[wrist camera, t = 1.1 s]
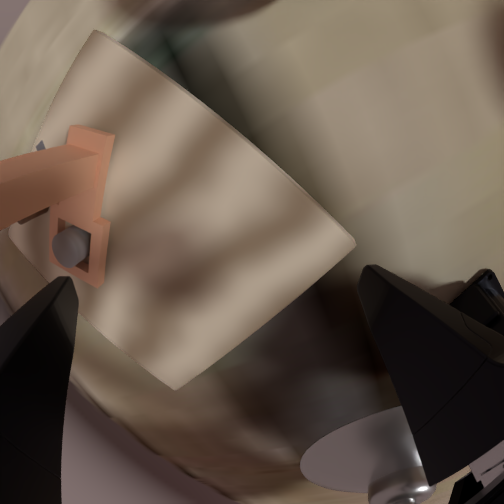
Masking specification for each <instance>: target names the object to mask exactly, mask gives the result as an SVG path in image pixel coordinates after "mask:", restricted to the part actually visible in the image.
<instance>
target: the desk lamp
mask: <svg viewBox="0 0 504 504" xmlns="http://www.w3.org/2000/svg"><path fill="white" fill-rule="evenodd" d="M300 469H301V472H302V473H303V475H304V476H305V477H306V478H307V479H308V480H309V481H311V482H312V483H314V484H316V485H318V486H321V487H324V488H327V489H331V490H336V491H343V492H356V493H368V501H369V504H420V503H422V502H424V501H425V500H427V499H428V498H430V497H431V495H432V494H433V493H434V491H435V490H436V485H437V484H435V485H433V486H431V487H429V485H428V482H427V479H426V476H425V473H424V470H423V466H422V463H421V460H420V457H419V454H418V451H417V448H416V445H415V442H414V439H413V435H412V433H411V430H410V427H409V425H408V422H407V419H406V416H405V414H404V411H403V408H402V406H399V407H395V408H392V409H388V410H385V411H382V412H379V413H376V414H373V415H370V416H367V417H365V418H362V419H359V420H357V421H354V422H352V423H350V424H347V425H345V426H343V427H341V428H339V429H337V430H335V431H333V432H331V433H329V434H328V435H326V436H324V437H323V438H321V439H320V440H318V441H317V442H316V443H314V444H313V445H312V446H311V447H310V448H309V449H308V450H307V451H306V452H305V454H304V455H303V456H302V459H301V461H300Z"/></svg>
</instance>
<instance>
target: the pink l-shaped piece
mask: <svg viewBox="0 0 504 504" xmlns="http://www.w3.org/2000/svg"><path fill="white" fill-rule="evenodd" d="M114 139H115V135H114V134H111V133H108V132H104V131H101V130H97V129H94V128H90V127H86V126H83V125H79V124H78V125H70V127H69V132H68V137H67V143H66V145H62V146H57V147H52V148H48V149H44V150H39V151H35V152H31V153H27V154H23V155H20V156H16V157H12V158H9V159H5V160H2V161H0V231H1V230H2V229H4V228H6V227H8V226H10V225H12V224H14V223H16V222H18V221H20V220H22V219H24V218H26V217H28V216H30V215H32V214H34V213H36V212H38V211H40V210H43V209H45V208H47V207H49V206H50V225H49V261H50V262H52V263H53V264H55V265H57V266H58V267H60V268H62V269H63V270H65V271H67V272H69V273H70V274H72V275H74V276H76V277H77V278H79V279H81V280H83V281H85V282H86V283H88V284H90V285H92V286H94V287H96V288H97V289H98V288H99V287H100V286H101V285H102V284H103V283H104V277H105V266H106V256H107V247H108V239H109V231H110V224H111V222H110V221H108V220H106V219H104V218H101V217H100V216H101V209H102V202H103V196H104V189H105V184H106V178H107V172H108V167H109V162H110V157H111V153H112V148H113V143H114ZM65 221H67V222H69V223H71V224H73V225H75V226H77V227H79V228H81V229H83V230H85V231H87V232H89V233H91V242H90V255H89V264H87V263H85V262H83V261H81V262H79V263H78V264H76V265H75V266H74V267H72V268H66V267H64V266H63V265H61V264H60V263H59V262H58V260H57V259H56V257H55V256H54V253H53V250H52V240H53V238H54V236H55V235H57V234H58V233H60V232H62V231H63V230H65Z"/></svg>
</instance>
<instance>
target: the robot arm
mask: <svg viewBox="0 0 504 504" xmlns="http://www.w3.org/2000/svg"><path fill="white" fill-rule="evenodd" d="M489 275H490V276H489ZM488 276H489V277H488ZM357 292H358V295H359V298H360V301H361V304H362V307H363V310H364V313H365V316H366V319H367V322H368V325H369V328H370V330H371V333H372V335H373V337H374V340H375V342H376V344H377V347H378V349H379V351H380V354H381V356H382V358H383V361H384V363H385V366H386V368H387V370H388V373H389V375H390V378H391V380H392V383H393V385H394V388H395V390H396V393H397V395H398V398H399V401H400V403H401V406H402V408H403V411H404V414H405V416H406V419H407V422H408V425H409V427H410V430H411V433H412V435H413V439H414V442H415V445H416V448H417V451H418V454H419V457H420V460H421V463H422V466H423V470H424V473H425V476H426V479H427V482H428V485H429V487H431V486H433V485H435V484H437V483H439V482H440V481H442V480H444V479H446V478H448V477H449V476H451V475H453V474H454V473H456V472H458V471H459V470H461V469H463V468H464V467H466V466H467V465H469V467H470V469H471V472H469V473H468V474H467V475H465V476H464V477H462V478H461V479H460V480H458V481H457V482H455V484H454V487H453V491H452V494H451V497H450V500H449V503H448V504H504V292H503V289H502V287H501V285H500V283H499V281H498V279H497V277H496V275H495V273H494V272H493V271H492V270H491V269H488V270H487V271H485V272H484V273H483V274H482V275H481V276H480V277H479V278H478V279H477V280H476V281H475V282H474V283H473V284H472V285H471V286H470V287H469V288H468V289H466V290H465V291H464V292H463V293H462V294H461V295H460V296H459V297H458V298H456V299H455V300H454V301H453V302H452V303H451V304H450V305H448V304H446V303H445V302H443V301H441V300H439V299H438V298H436V297H434V296H432V295H431V294H429V293H427V292H425V291H424V290H422V289H420V288H418V287H417V286H415V285H413V284H411V283H409V282H408V281H406V280H404V279H402V278H400V277H399V276H397V275H395V274H393V273H391V272H389V271H388V270H386V269H384V268H382V267H380V266H378V265H366V266H365V267H364V268H363V270H362V273H361V276H360V279H359V282H358V284H357ZM78 308H79V299H78V296H77V292H76V289H75V286H74V283H73V280H72V278H71V277H70V276H58V277H57V278H55V279H54V280H53V281H52V282H50V283H49V284H48V285H47V286H45V287H44V288H43V289H42V290H41V291H39V292H38V293H37V294H36V295H35V296H34V297H32V298H31V299H30V300H29V301H28V302H27V303H25V304H24V305H23V306H22V307H21V308H20V309H18V310H17V311H16V312H15V313H14V314H13V315H12V316H11V317H10V318H8V319H7V320H6V321H5V322H4V323H3V324H2V325H1V326H0V504H62V502H61V479H60V478H61V456H62V437H63V425H64V414H65V405H66V397H67V389H68V383H69V376H70V370H71V364H72V359H73V353H74V345H75V335H76V325H77V316H78Z"/></svg>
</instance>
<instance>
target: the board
mask: <svg viewBox="0 0 504 504" xmlns="http://www.w3.org/2000/svg"><path fill="white" fill-rule="evenodd" d="M78 124H79V125H83V126H86V127H90V128H94V129H97V130H101V131H104V132H108V133H111V134H114V135H115V139H114V143H113V148H112V153H111V157H110V162H109V167H108V172H107V178H106V184H105V189H104V196H103V202H102V209H101V216H100V217H101V218H104V219H106V220H108V221H110V222H111V224H110V231H109V239H108V247H107V256H106V266H105V277H104V283H103V284H102V285H101V286H100V287H99V288H98V289H97V288H96V287H94V286H92V285H90V284H88V283H86V282H85V281H83V280H81V279H79V278H77V277H76V276H74V275H72V274H70V273H69V272H67V271H65V270H63V269H62V268H60V267H58V266H57V265H55V264H53V263H52V262H50V261H49V225H50V206H49V207H47V208H45V209H43V210H40V211H38V212H36V213H34V214H32V215H30V216H28V217H26V218H24V219H22V220H20V221H18V222H16V223H14V224H12V225H10V228H9V233H8V236H9V238H10V239H11V240H12V241H13V243H14V244H15V245H16V246H17V248H18V249H19V250H20V251H21V252H22V253H23V255H24V256H25V257H26V258H27V259H28V260H29V262H30V263H31V264H32V265H33V266H34V267H35V268H36V270H37V271H38V272H39V273H40V274H41V275H42V276H43V277H44V278H45V279H46V280H47V282H48V283H50V282H52V281H53V280H54V279H55V278H57V277H58V276H70V277H71V278H72V280H73V283H74V286H75V289H76V292H77V296H78V299H79V308H78V313H79V314H81V315H82V316H83V317H84V318H85V319H86V320H87V321H88V322H89V323H90V324H91V325H92V326H94V327H95V328H96V329H97V330H98V331H99V332H100V333H101V334H103V335H104V336H105V337H106V338H107V339H108V340H110V341H111V342H112V343H113V344H114V345H115V346H117V347H118V348H119V349H120V350H122V351H123V352H124V353H125V354H126V355H128V356H129V357H130V358H131V359H133V360H134V361H135V362H137V363H138V364H139V365H140V366H142V367H143V368H144V369H146V370H147V371H148V372H150V373H151V374H152V375H154V376H155V377H156V378H158V379H159V380H160V381H162V382H163V383H165V384H166V385H167V386H169V387H170V388H172V389H173V390H175V391H176V390H178V389H179V388H181V387H182V386H183V385H185V384H186V383H188V382H189V381H190V380H192V379H193V378H194V377H196V376H197V375H199V374H200V373H201V372H203V371H204V370H205V369H207V368H208V367H209V366H211V365H212V364H214V363H215V362H216V361H218V360H219V359H220V358H222V357H223V356H224V355H225V354H227V353H228V352H229V351H231V350H232V349H233V348H235V347H236V346H237V345H239V344H240V343H241V342H242V341H244V340H245V339H246V338H248V337H249V336H250V335H251V334H253V333H254V332H255V331H256V330H258V329H259V328H260V327H262V326H263V325H264V324H265V323H267V322H268V321H269V320H270V319H271V318H273V317H274V316H275V315H276V314H278V313H279V312H280V311H281V310H283V309H284V308H285V307H286V306H287V305H289V304H290V303H291V302H292V301H293V300H295V299H296V298H297V297H298V296H299V295H301V294H302V293H303V292H304V291H305V290H307V289H308V288H309V287H310V286H311V285H312V284H314V283H315V282H316V281H317V280H318V279H319V278H321V277H322V276H323V275H324V274H325V273H326V272H328V271H329V270H330V269H331V268H332V267H333V266H334V265H336V264H337V263H338V262H339V261H340V260H341V259H342V258H343V257H345V256H346V255H347V254H348V253H349V252H350V251H351V250H352V249H353V248H355V247H356V246H357V245H356V243H355V240H354V238H353V237H352V236H351V235H350V234H349V233H348V232H347V231H346V230H345V229H344V228H343V227H342V226H341V225H340V224H339V223H338V222H337V221H336V220H335V219H334V218H333V217H332V216H331V215H330V214H329V213H328V212H327V211H326V210H325V209H324V208H323V207H322V206H321V205H320V204H319V203H318V202H316V201H315V200H314V199H313V198H312V197H311V196H310V195H309V194H308V193H307V192H306V191H305V190H304V189H303V188H302V187H301V186H300V185H298V184H297V183H296V182H295V181H294V180H293V179H292V178H291V177H290V176H289V175H288V174H287V173H285V172H284V171H283V170H282V169H281V168H280V167H279V166H278V165H277V164H275V163H274V162H273V161H272V160H271V159H270V158H269V157H268V156H266V155H265V154H264V153H263V152H262V151H261V150H259V149H258V148H257V147H256V146H255V145H254V144H253V143H251V142H250V141H249V140H248V139H247V138H245V137H244V136H243V135H242V134H241V133H240V132H238V131H237V130H236V129H235V128H234V127H232V126H231V125H230V124H229V123H227V122H226V121H225V120H224V119H223V118H221V117H220V116H219V115H218V114H216V113H215V112H214V111H213V110H211V109H210V108H209V107H208V106H206V105H205V104H204V103H202V102H201V101H200V100H199V99H197V98H196V97H195V96H193V95H192V94H191V93H190V92H188V91H187V90H186V89H184V88H183V87H182V86H180V85H179V84H178V83H176V82H175V81H174V80H172V79H171V78H169V77H168V76H167V75H165V74H164V73H163V72H161V71H160V70H158V69H157V68H156V67H154V66H153V65H151V64H150V63H148V62H147V61H146V60H144V59H143V58H141V57H140V56H138V55H137V54H135V53H134V52H132V51H131V50H130V49H128V48H127V47H125V46H123V45H122V44H120V43H119V42H117V41H116V40H114V39H113V38H111V37H110V36H108V35H106V34H105V33H103V32H100V31H97V30H93V32H92V33H91V35H90V36H89V38H88V39H87V41H86V42H85V44H84V45H83V47H82V49H81V50H80V52H79V53H78V55H77V57H76V58H75V60H74V62H73V64H72V65H71V67H70V69H69V71H68V72H67V74H66V76H65V78H64V80H63V82H62V84H61V86H60V87H59V89H58V91H57V93H56V95H55V97H54V99H53V102H52V104H51V106H50V108H49V110H48V112H47V115H46V117H45V119H44V121H43V124H42V126H41V128H40V131H39V133H38V136H37V138H36V141H35V144H34V146H33V149H32V152H35V151H39V150H44V149H48V148H52V147H57V146H62V145H66V143H67V137H68V132H69V127H70V125H78ZM90 242H91V233H89V232H87V231H85V230H83V229H81V228H79V227H77V226H75V225H73V224H71V223H69V222H67V221H65V230H63V231H62V232H60V233H58V234H57V235H55V236H54V238H53V240H52V250H53V253H54V256H55V257H56V259H57V260H58V262H59V263H60V264H61V265H63V266H64V267H66V268H72V267H74V266H75V265H76V264H78V263H79V262H81V261H83V262H85V263H87V264H89V255H90Z"/></svg>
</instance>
